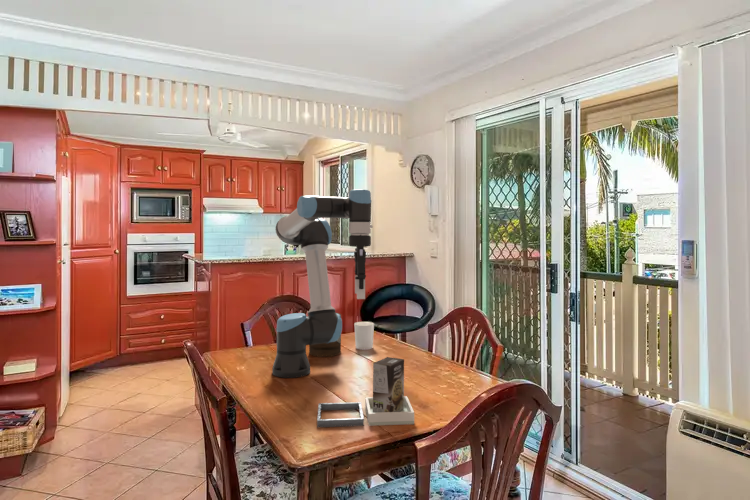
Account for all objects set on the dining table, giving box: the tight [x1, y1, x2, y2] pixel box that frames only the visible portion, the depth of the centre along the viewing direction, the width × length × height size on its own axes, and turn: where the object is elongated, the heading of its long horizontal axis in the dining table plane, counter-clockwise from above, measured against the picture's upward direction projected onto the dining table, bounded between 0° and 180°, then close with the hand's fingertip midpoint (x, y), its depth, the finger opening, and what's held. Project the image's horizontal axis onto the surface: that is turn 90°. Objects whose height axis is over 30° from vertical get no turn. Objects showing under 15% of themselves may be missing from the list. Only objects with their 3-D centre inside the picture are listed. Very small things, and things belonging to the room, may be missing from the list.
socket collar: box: [316, 401, 365, 428], centre depth 141 cm, size 14×14×2 cm
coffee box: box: [372, 356, 405, 413], centre depth 143 cm, size 9×6×16 cm
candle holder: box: [353, 321, 375, 351], centre depth 227 cm, size 10×10×12 cm
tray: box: [364, 395, 415, 427], centre depth 143 cm, size 14×14×4 cm
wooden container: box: [308, 312, 342, 358], centre depth 217 cm, size 15×15×22 cm
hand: (359, 296), depth 160 cm, fingers open, 13 cm apart
